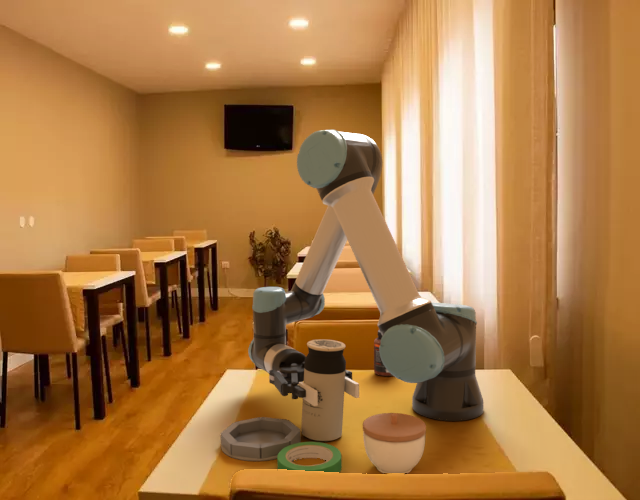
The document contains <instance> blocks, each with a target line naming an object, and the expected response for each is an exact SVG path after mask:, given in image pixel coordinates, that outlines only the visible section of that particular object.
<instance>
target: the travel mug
mask: <svg viewBox="0 0 640 500" xmlns="http://www.w3.org/2000/svg"><path fill="white" fill-rule="evenodd" d="M306 345H307V346H306V347H307V349H308V350H307V351H308V353H307V354H306V355H305V356H306V358H305V365H304V381H303V382H304V383H305V384H307V385H308V386H310V387H312V388H313V389H315V390H316V391H317V392H318V405H317V406H313V405H312V404H310V403H309V402H307V401H306V400H304V399H303V398H302V409H301V428H300V433H301V435H303V437H306V438H308V439H309V440H312V441H315V442H329V441H330V442H331V441H334V440H337V439H339V438H341V437H342V435H343V423H344V422H343V420H344V405H345V403H344V402H345V392H344V388H345V370H347V369H346V368H347V367H346V365H347V361H346V359H345V355H344V351H345V348H346V346H347V345H346V344H345V343H344V342H342V341H340V340H339V341H338V340H334V339H324V338H322V339H312V340H308V341H307V343H306Z"/></svg>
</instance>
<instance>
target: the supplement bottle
mask: <svg viewBox="0 0 640 500" xmlns="http://www.w3.org/2000/svg"><path fill="white" fill-rule="evenodd" d="M382 337H383V336H382V334H381V332H380V329H378V330H377V337H376V338H375V339H374V341H373V371H374V374H375V375H377V376H381V377H390V376H392V377H393V375H392V374H391V373H390V372H389V371H388V370H387V369H386V368H385V366H384V364H383V362H382V360H381V357H380V352H379V346H380V345H381V339H382Z"/></svg>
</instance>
